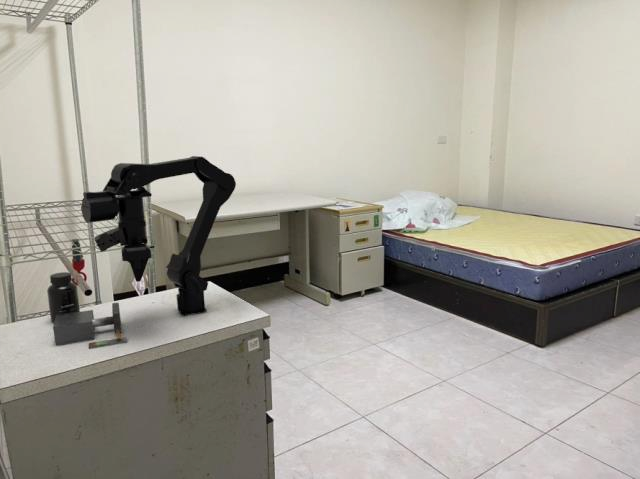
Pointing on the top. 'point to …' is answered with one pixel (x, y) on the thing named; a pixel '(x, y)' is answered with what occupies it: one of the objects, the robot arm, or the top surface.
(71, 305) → the supplement bottle
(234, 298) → the top surface
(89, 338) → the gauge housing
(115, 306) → the gauge plunger
